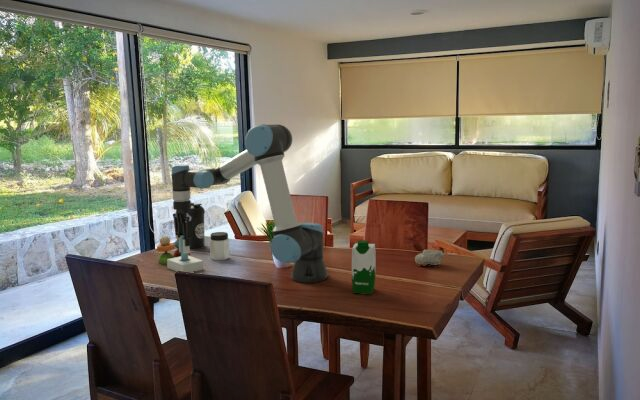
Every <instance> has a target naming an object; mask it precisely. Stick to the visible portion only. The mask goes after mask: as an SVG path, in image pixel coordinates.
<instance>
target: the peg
mask: <svg viewBox="0 0 640 400" xmlns="http://www.w3.org/2000/svg"><path fill="white" fill-rule="evenodd" d="M182 238H184V235H180V242H181V261H182V262H184V261H188V253H186V254H184V253H183V239H182Z"/></svg>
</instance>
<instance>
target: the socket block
mask: <svg viewBox="0 0 640 400" xmlns="http://www.w3.org/2000/svg"><path fill="white" fill-rule="evenodd" d="M191 256H192V255H191ZM191 256H188V261H184V262H182V261H181V256H176V257H174V258H171V259H167V264H166V266H167V269H169V270H172V271H174V272H177V271H187V272H191V273H195V272H198V271H203V270H205V269H204V267H205V266H204V260H203V259H200V258H197V257H195V256H194V257H191ZM194 271H195V272H194Z"/></svg>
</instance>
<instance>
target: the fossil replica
mask: <svg viewBox="0 0 640 400" xmlns="http://www.w3.org/2000/svg"><path fill="white" fill-rule="evenodd" d="M444 255H445V254H444V252H443V250H439V249H424V250H422V252H420V253H419V254H417V255H415V257H414V260H415V263H416V264H417V263H418V264H434V265H436V264H439V265H440V264H441V261H442V258H444ZM418 264H417V265H418Z"/></svg>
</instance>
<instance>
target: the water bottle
mask: <svg viewBox="0 0 640 400" xmlns="http://www.w3.org/2000/svg"><path fill="white" fill-rule="evenodd" d="M188 211H189V215H190V216H193V220H192V238H189V244H190V245H189V246H190V250H199V249H203V248H205V247H206V246H205V245H206V244H205V213H206V212H205V208H204V207H203V204H202V203H194V202H191V208H190V209H189V210H188Z"/></svg>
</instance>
